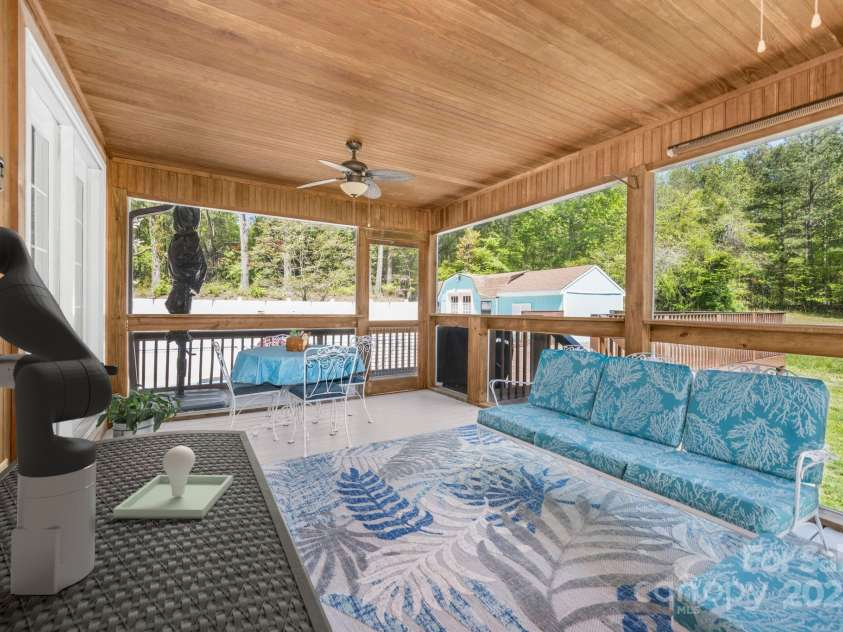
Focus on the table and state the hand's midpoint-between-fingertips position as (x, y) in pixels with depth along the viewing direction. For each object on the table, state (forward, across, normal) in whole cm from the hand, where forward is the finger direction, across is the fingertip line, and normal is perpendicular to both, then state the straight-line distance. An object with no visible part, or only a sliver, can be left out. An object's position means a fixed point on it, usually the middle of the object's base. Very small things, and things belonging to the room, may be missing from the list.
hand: (105, 373), depth 95 cm
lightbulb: (+18, -4, +26) cm, 32 cm away
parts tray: (+18, -4, +26) cm, 32 cm away
